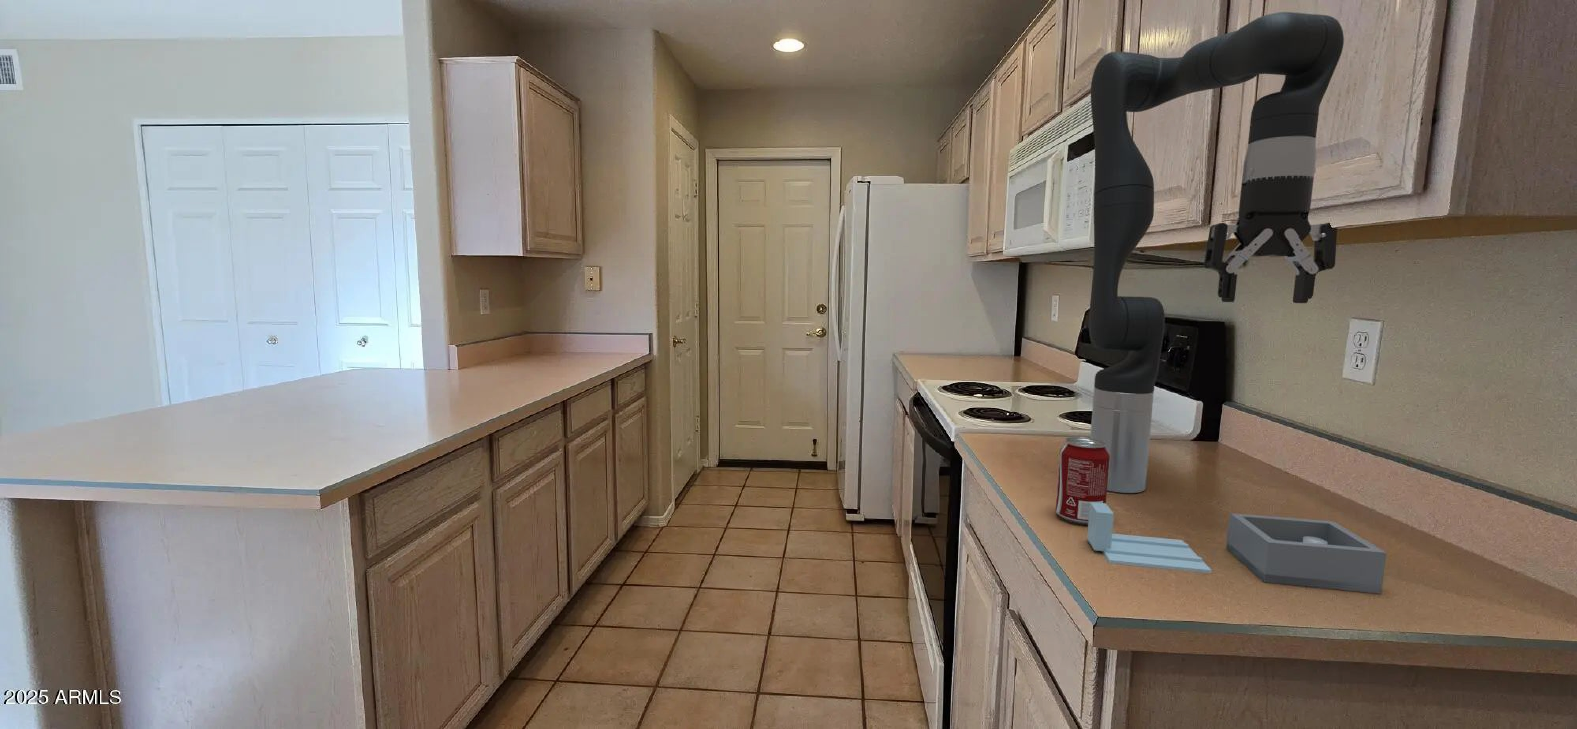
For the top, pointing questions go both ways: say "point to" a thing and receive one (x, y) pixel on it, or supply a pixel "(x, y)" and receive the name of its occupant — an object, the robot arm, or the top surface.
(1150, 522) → the top surface
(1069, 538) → the top surface
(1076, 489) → the soda can
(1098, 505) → the lid
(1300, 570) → the grey shallow tray
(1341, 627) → the top surface
